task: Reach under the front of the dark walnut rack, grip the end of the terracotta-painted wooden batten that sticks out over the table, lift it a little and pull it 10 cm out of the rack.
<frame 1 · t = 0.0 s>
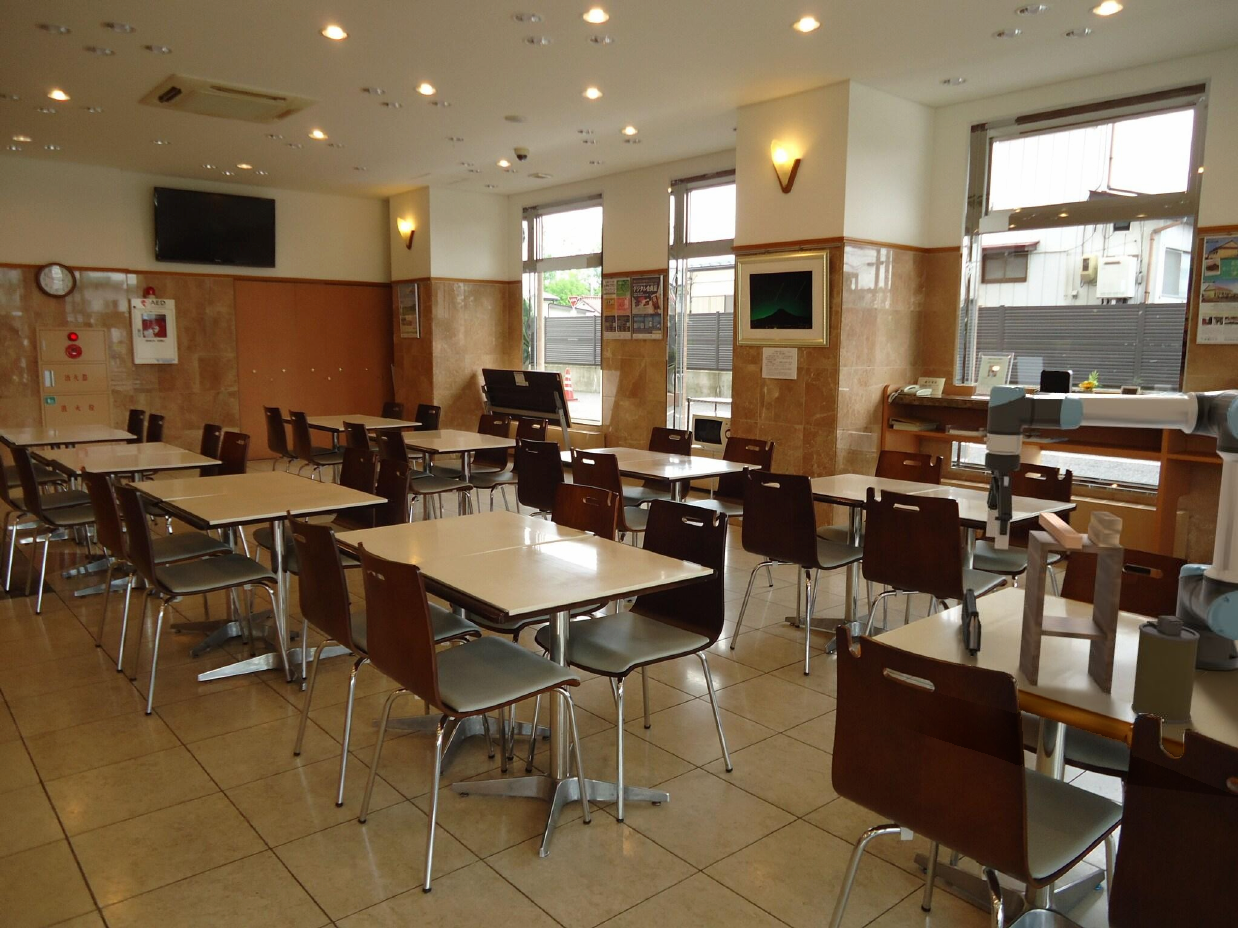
hand: (996, 542, 207), 28 cm above the table, tool pointing down, fingers open, 13 cm apart
rack: (1063, 679, 197), on the table
canister: (1159, 713, 180), on the table
batten: (1058, 534, 197), point 32 cm above the table, touching rack
magazine: (969, 642, 222), on the table
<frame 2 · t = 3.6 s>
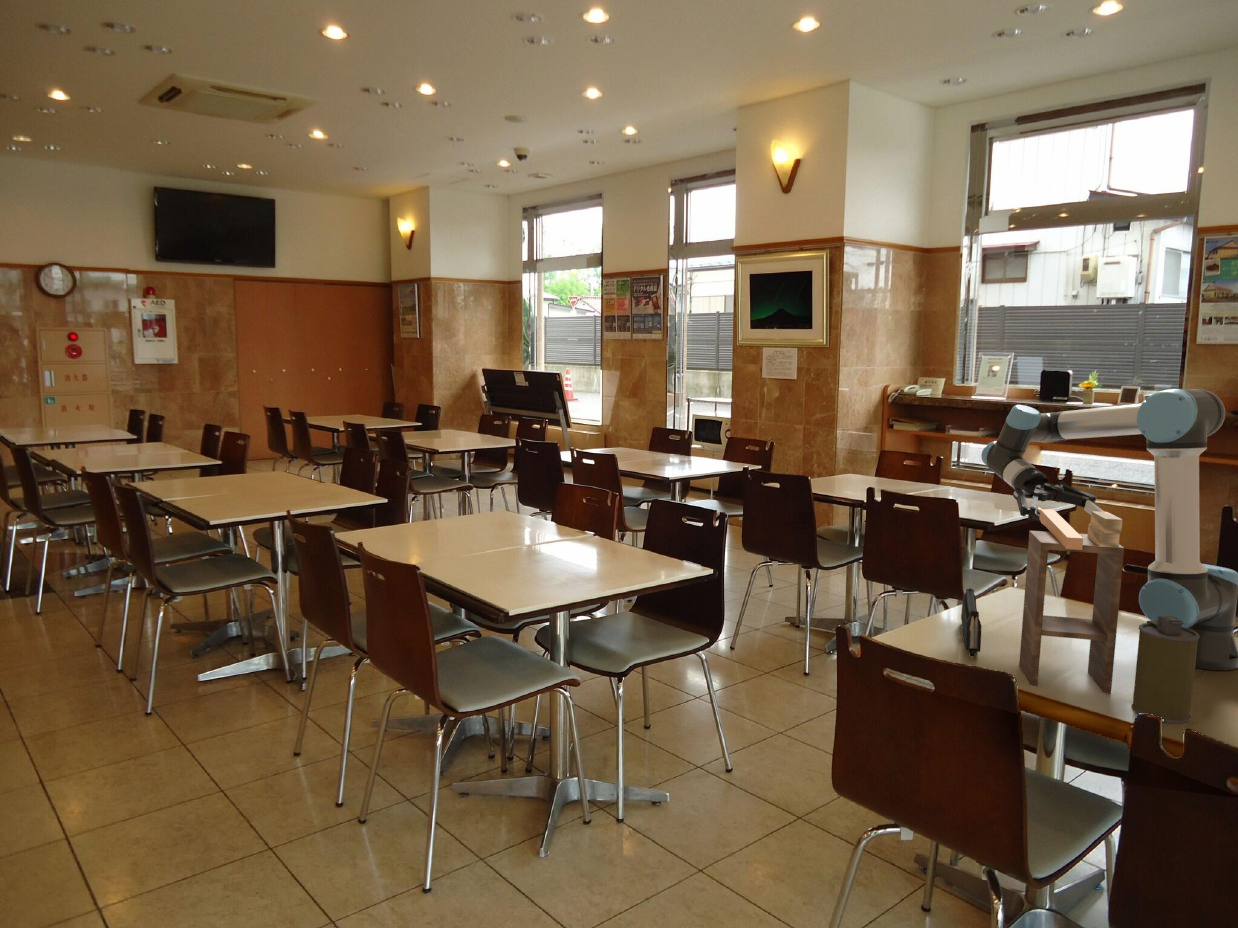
hand: (1079, 522, 211), 32 cm above the table, tool tilted 70°, fingers open, 13 cm apart
batten: (1059, 533, 197), point 32 cm above the table, touching gripper
everything else where it was.
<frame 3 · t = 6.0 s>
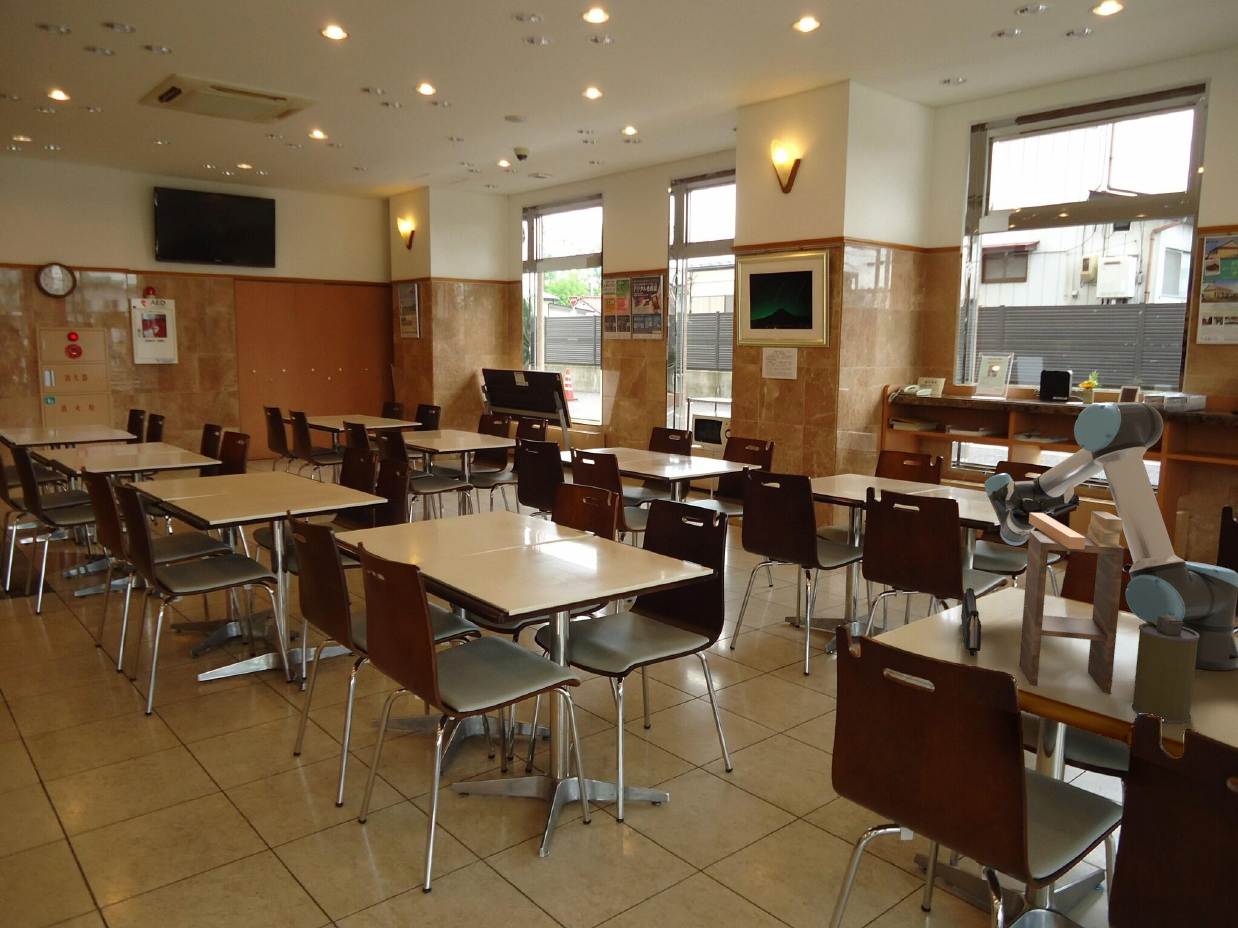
hand: (1041, 487, 216), 40 cm above the table, tool pointing upward, fingers open, 13 cm apart
batten: (1054, 535, 197), point 32 cm above the table, touching rack
everything else where it was.
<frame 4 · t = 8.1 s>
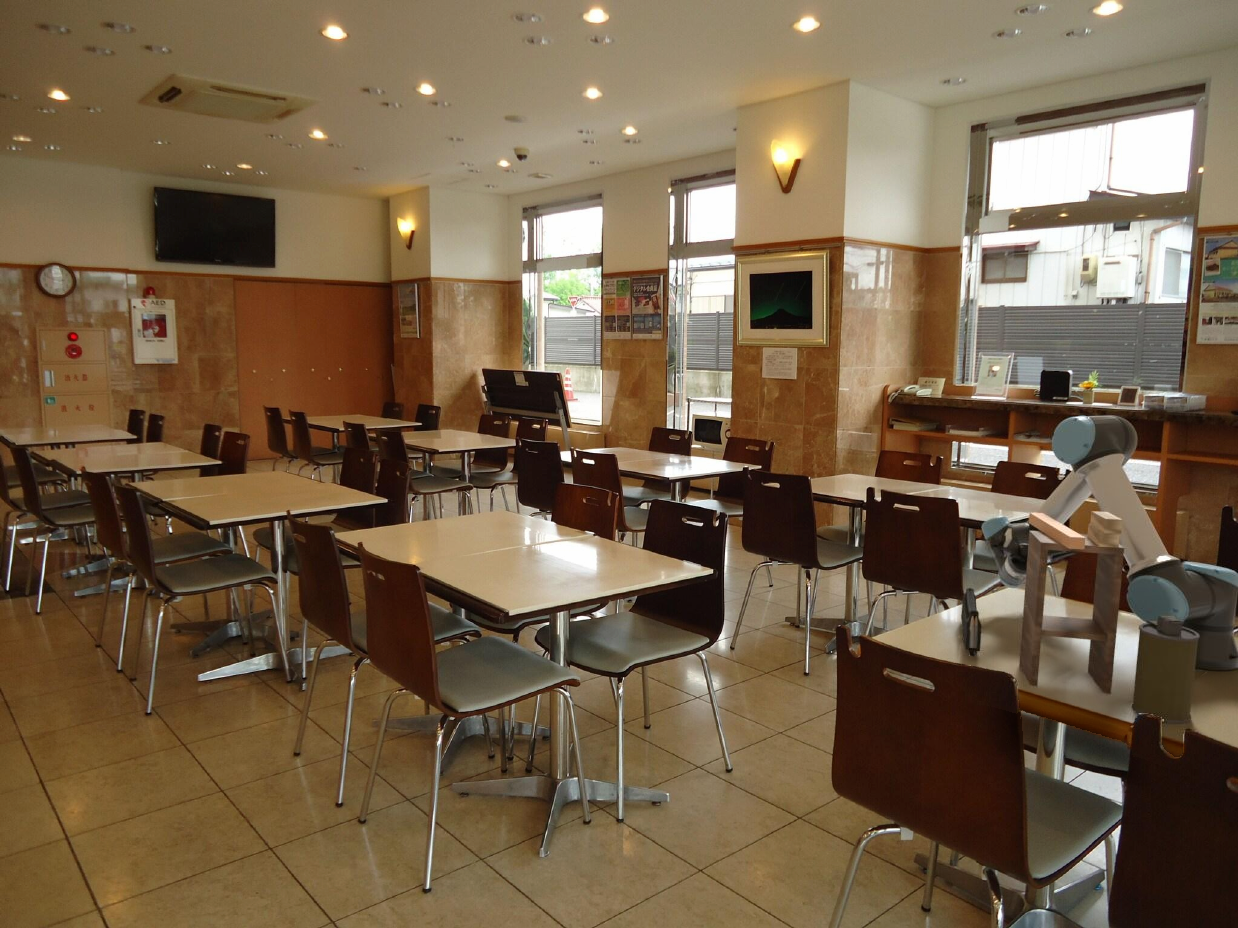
hand: (1039, 535, 216), 28 cm above the table, tool pointing upward, fingers open, 13 cm apart
nothing on the table moved.
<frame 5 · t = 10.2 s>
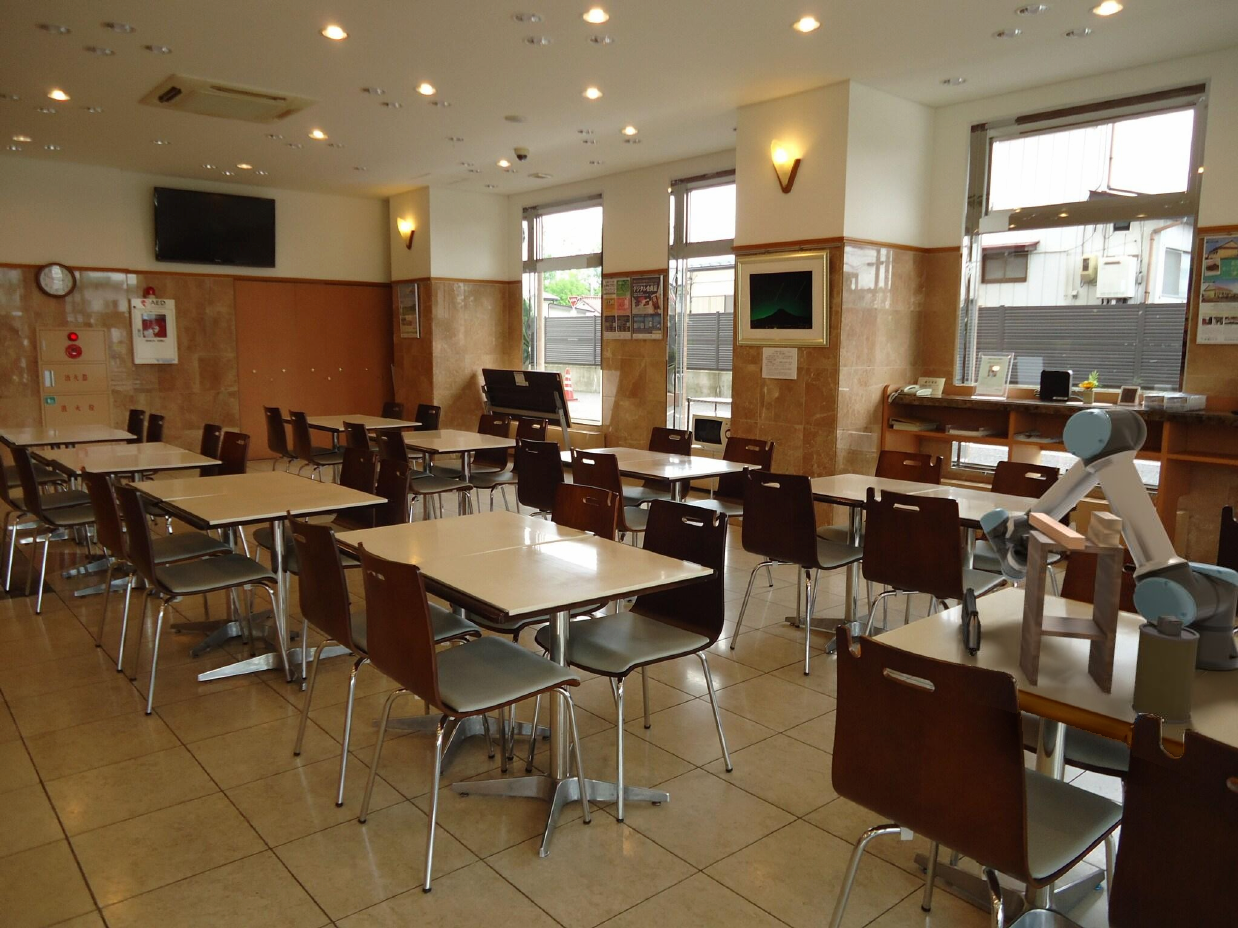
hand: (1042, 525, 211), 31 cm above the table, tool pointing upward, fingers open, 13 cm apart
nothing on the table moved.
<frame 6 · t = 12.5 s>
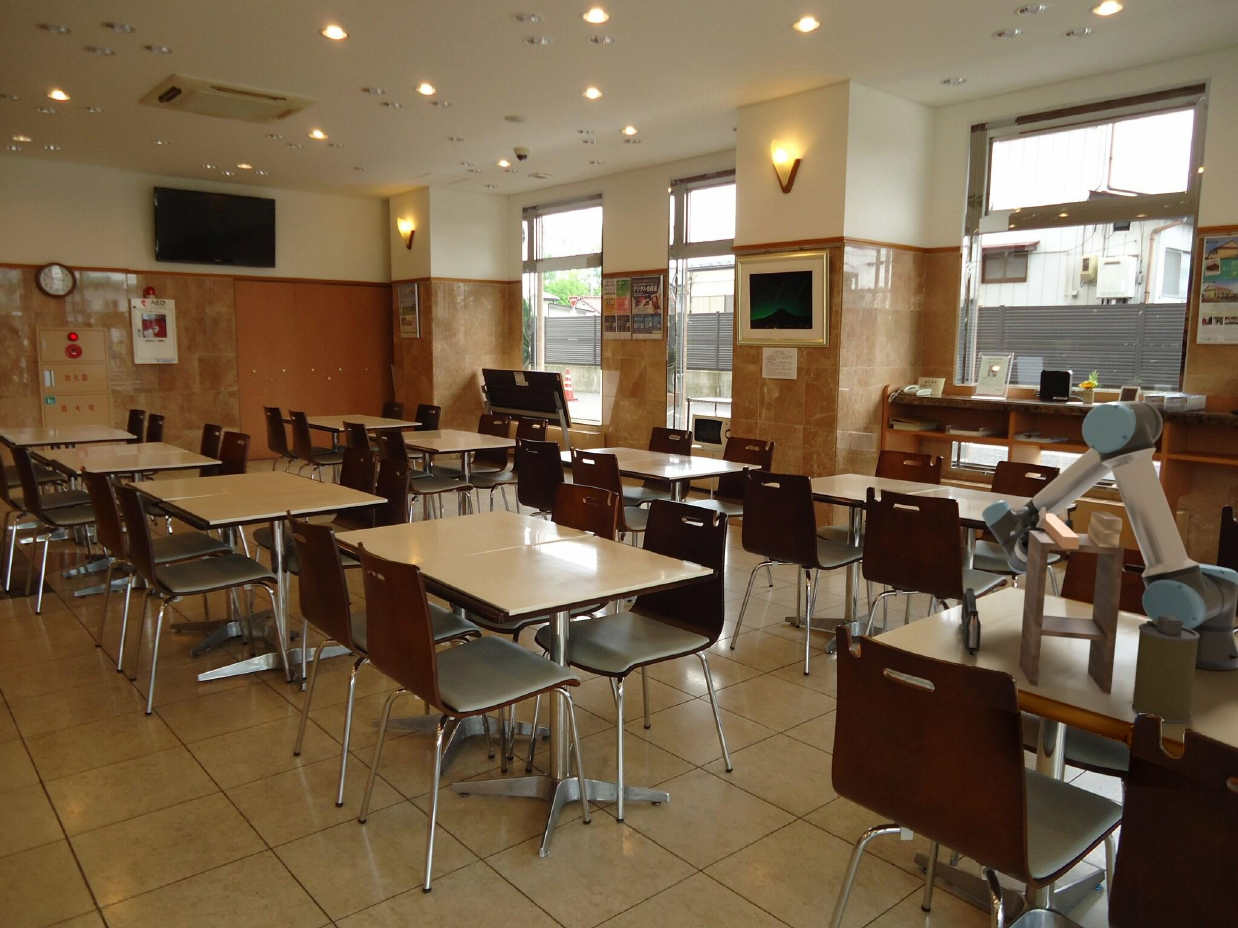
hand: (1054, 513, 202), 36 cm above the table, tool pointing upward, fingers open, 4 cm apart
batten: (1057, 535, 196), point 32 cm above the table
everything else where it was.
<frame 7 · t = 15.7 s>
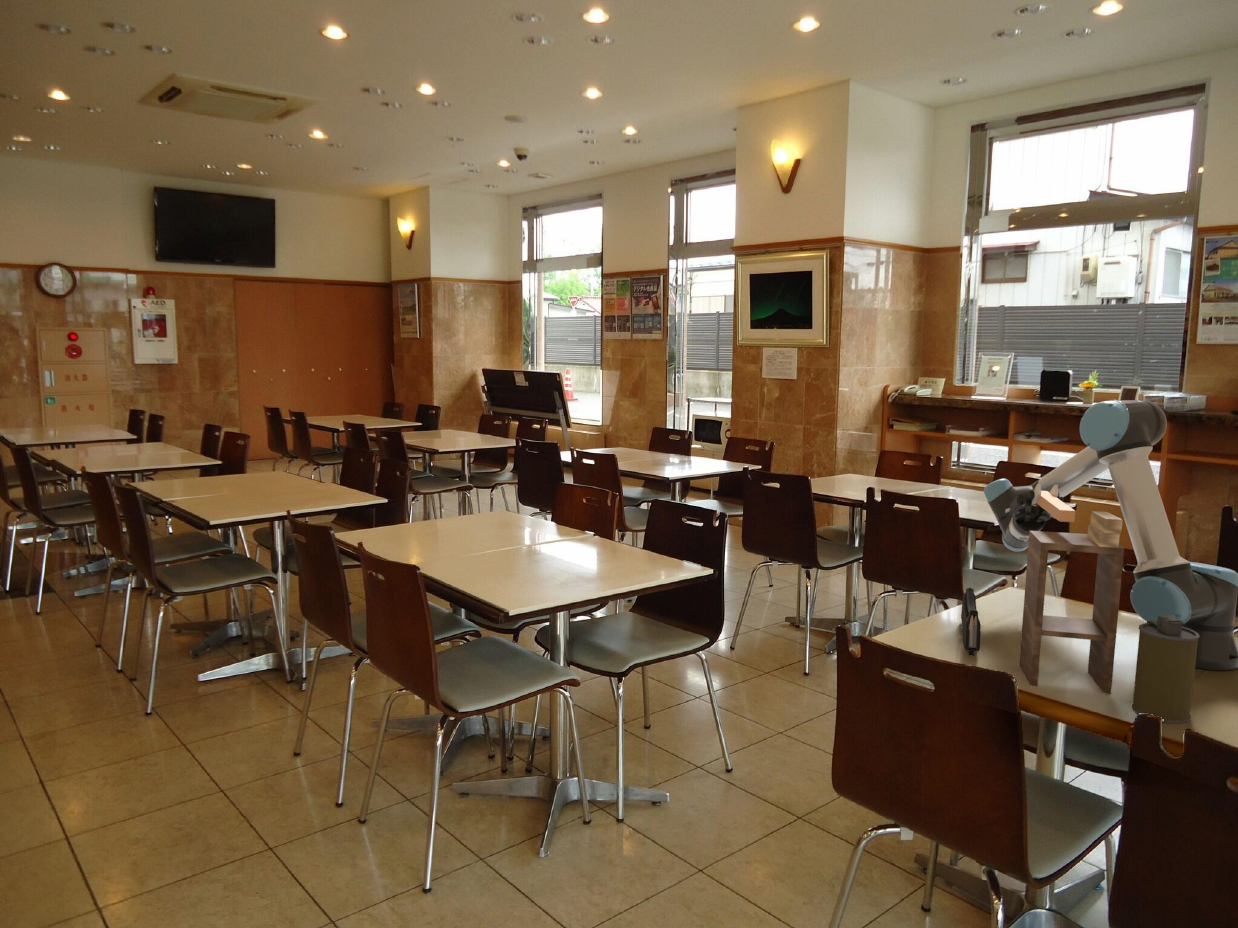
hand: (1047, 489, 210), 40 cm above the table, tool pointing upward, fingers closed on batten, 3 cm apart
batten: (1052, 510, 205), point 36 cm above the table, touching gripper
everything else where it was.
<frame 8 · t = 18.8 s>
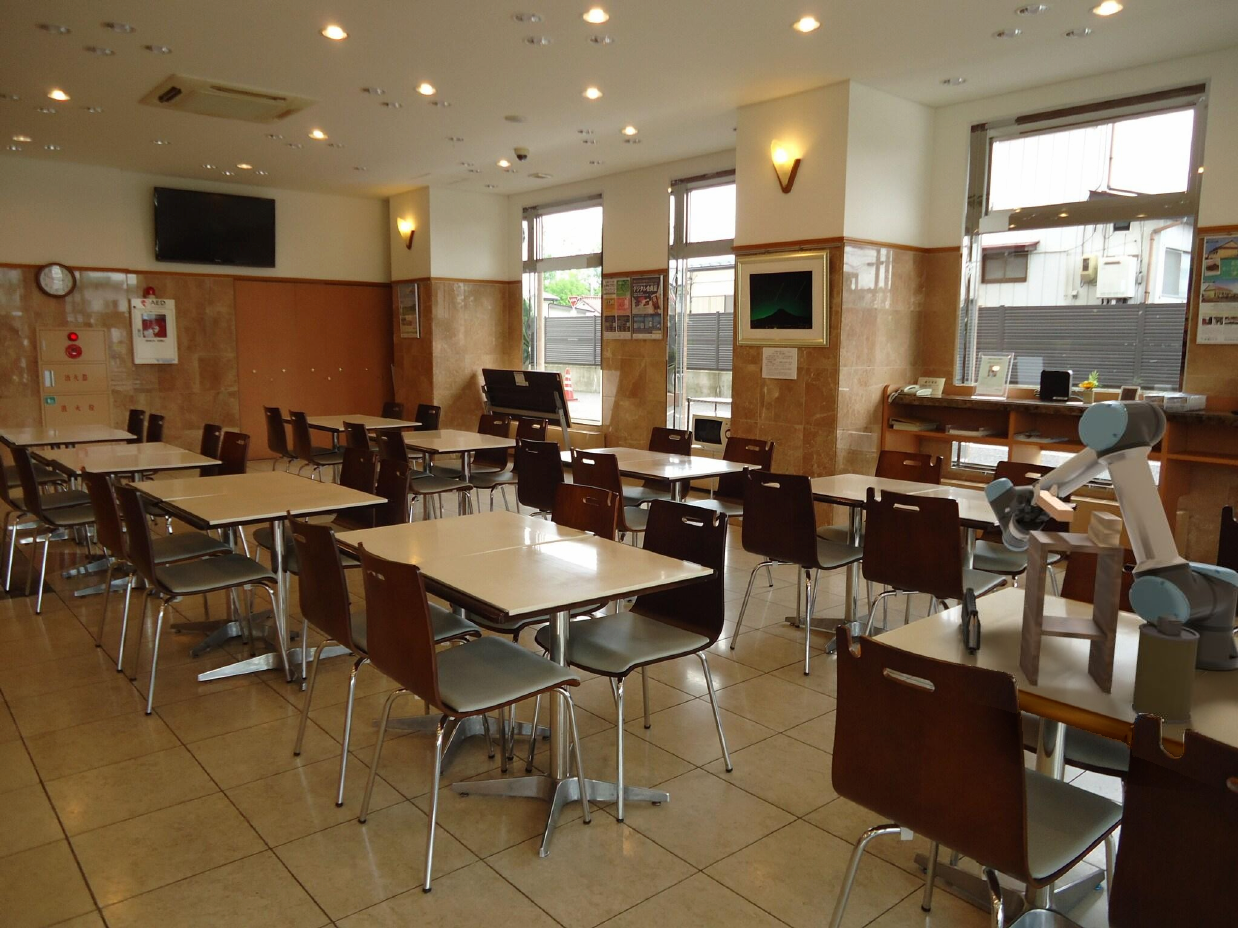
hand: (1047, 489, 211), 40 cm above the table, tool pointing upward, fingers closed on batten, 3 cm apart
batten: (1051, 510, 205), point 36 cm above the table, touching gripper
everything else where it was.
at the end: batten moved 9.9 cm from its start; the gripper is holding batten; batten point 36.0 cm above the table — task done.
